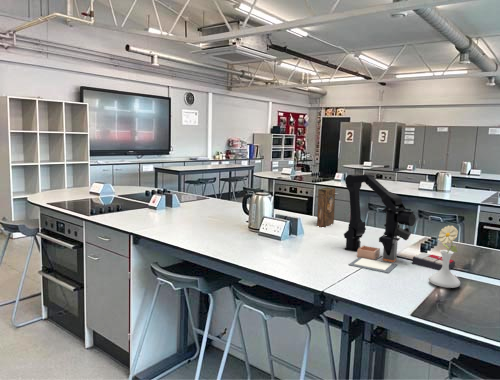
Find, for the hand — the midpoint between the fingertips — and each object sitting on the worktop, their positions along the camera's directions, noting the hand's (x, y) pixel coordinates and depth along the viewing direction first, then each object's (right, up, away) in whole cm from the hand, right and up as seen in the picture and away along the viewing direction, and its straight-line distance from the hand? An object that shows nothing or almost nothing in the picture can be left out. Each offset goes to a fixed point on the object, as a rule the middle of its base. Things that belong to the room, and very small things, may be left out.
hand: (389, 253), depth 183 cm
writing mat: (-11, -4, -8) cm, 14 cm away
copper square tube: (-9, -2, +5) cm, 10 cm away
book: (-16, +7, +76) cm, 78 cm away
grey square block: (0, -3, 0) cm, 3 cm away
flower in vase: (+10, -8, -32) cm, 34 cm away
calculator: (+18, -5, -6) cm, 20 cm away
